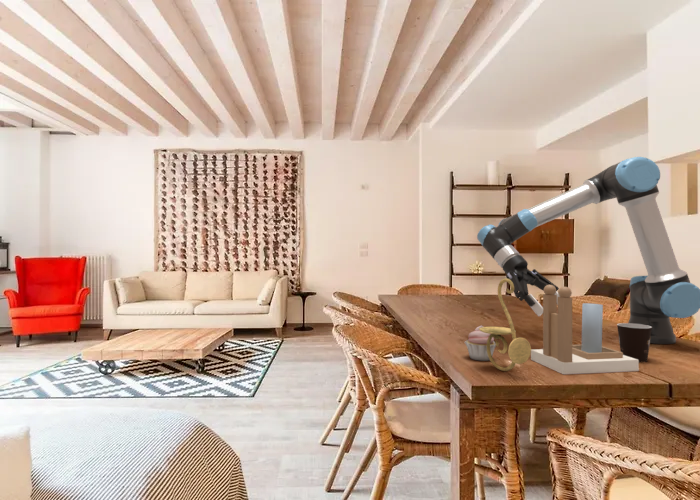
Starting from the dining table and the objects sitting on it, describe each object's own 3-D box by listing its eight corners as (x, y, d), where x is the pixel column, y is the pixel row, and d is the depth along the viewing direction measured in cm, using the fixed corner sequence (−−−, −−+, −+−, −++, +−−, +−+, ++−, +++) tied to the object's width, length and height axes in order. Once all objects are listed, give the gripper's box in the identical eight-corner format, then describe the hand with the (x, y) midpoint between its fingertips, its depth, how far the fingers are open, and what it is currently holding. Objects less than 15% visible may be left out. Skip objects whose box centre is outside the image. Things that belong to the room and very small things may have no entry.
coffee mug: (641, 364, 119) (641, 329, 119) (610, 357, 127) (610, 324, 127) (663, 359, 125) (663, 325, 125) (632, 353, 132) (632, 321, 132)
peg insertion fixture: (598, 356, 128) (598, 281, 128) (638, 371, 113) (638, 286, 113) (530, 359, 125) (530, 282, 125) (563, 374, 110) (563, 287, 110)
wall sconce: (535, 376, 108) (535, 279, 108) (504, 380, 105) (504, 280, 105) (500, 362, 122) (500, 276, 122) (472, 365, 119) (472, 276, 119)
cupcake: (475, 363, 121) (475, 328, 121) (458, 355, 130) (458, 323, 130) (504, 361, 123) (504, 327, 123) (485, 353, 132) (485, 321, 132)
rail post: (593, 351, 122) (594, 303, 122) (605, 355, 117) (607, 305, 117) (577, 351, 122) (578, 303, 122) (589, 355, 117) (590, 305, 117)
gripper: (526, 268, 151) (568, 314, 138) (480, 271, 137) (522, 323, 124) (540, 253, 146) (585, 300, 134) (493, 254, 133) (538, 307, 120)
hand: (555, 311), depth 129 cm, fingers open, 13 cm apart
